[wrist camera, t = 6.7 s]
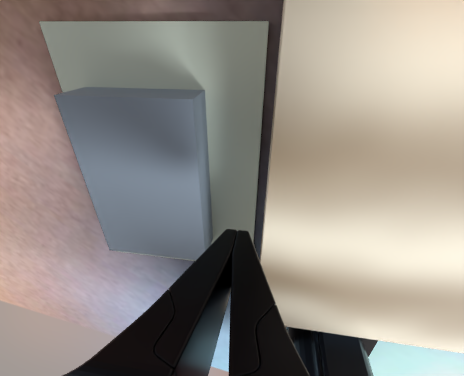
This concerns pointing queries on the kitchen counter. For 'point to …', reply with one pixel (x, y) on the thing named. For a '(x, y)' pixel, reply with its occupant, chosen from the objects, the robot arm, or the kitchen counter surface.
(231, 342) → the robot arm
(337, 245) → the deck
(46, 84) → the kitchen counter surface
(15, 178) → the kitchen counter surface
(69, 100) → the grey-blue rectangular block
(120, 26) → the mat
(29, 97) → the kitchen counter surface
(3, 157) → the kitchen counter surface
